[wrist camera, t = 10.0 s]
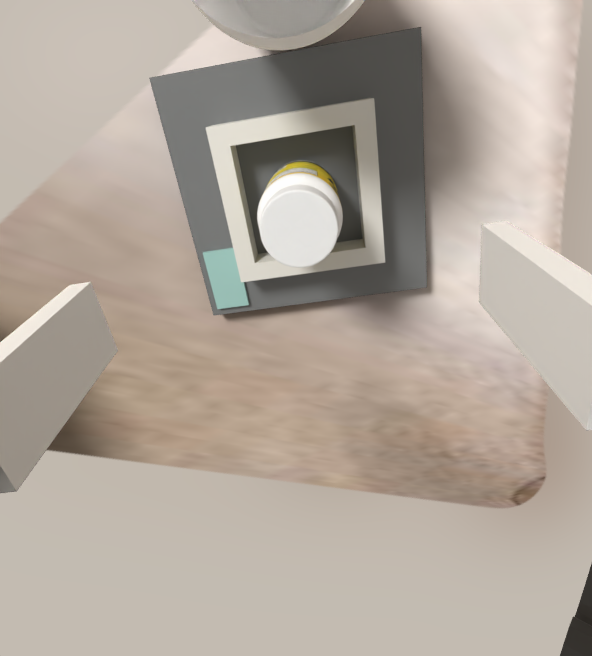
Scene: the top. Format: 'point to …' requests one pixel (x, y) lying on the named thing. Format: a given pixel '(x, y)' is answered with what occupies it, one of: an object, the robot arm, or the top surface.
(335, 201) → the supplement bottle
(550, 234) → the top surface
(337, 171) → the dock
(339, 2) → the cup
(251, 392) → the top surface
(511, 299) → the robot arm
